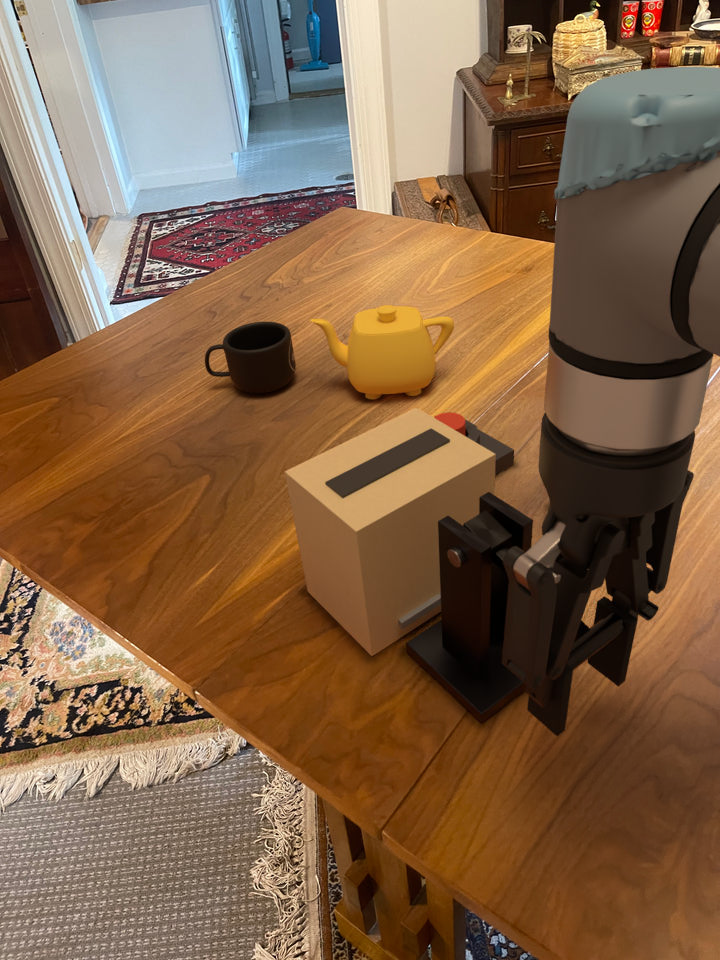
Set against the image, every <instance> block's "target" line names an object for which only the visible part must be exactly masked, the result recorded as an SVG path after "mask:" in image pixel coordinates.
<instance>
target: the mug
mask: <svg viewBox="0 0 720 960" xmlns="http://www.w3.org/2000/svg"><path fill="white" fill-rule="evenodd" d="M217 350H223V352H224V356H225V360H226V364H227V368H228V371H214V370H213V369H212V368H211V364H210V356H211V353H212V352H214V351H217ZM204 366H205V370H206V372H207V373H208V374H209V375H210V376H212V377H217V378H226V377H229V378H230V380H231V382H232V383H233V384H234V386H236V387H237V389H239V390H241V391H243V392H246V393H249V394H267V393H271V392H275V391H277V390H279V389H282V388H284V387H286V386H287V385H288V384H290V382H291V381H292V380H293V378H294V376H295V373H296V366H297V364H296V358H295V352H294V345H293V340H292V334H291V330H290V329H289V327H287V326H286V325H285V324H282V323H280V322H275V321H255V322H249V323H246V324H242V325H240V326H237V327H236V328H233V329H232V330H230V331H229V332H227V333H226V335H225V336H224V337H223V340H222V343H221V344H220V343H217V344H214V345H211V346H210V347H209V348H207V350H206V352H205V354H204Z"/></svg>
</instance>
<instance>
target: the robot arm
mask: <svg viewBox="0 0 720 960" xmlns="http://www.w3.org/2000/svg"><path fill="white" fill-rule="evenodd" d="M563 139H564V140H563V147H562V154H561V160H560V167H559V174H558V181H557V187H555V189H554V191H553V192H554V194H553V195H554V200H556V207H555V208H556V209H555V231H554V246H553V247H554V248H553V261H552V262H553V264H552V265H553V266H552V278H551V295H550V296H551V297H550V313H549V325H548V334H547V335H548V341H549V342H548V351H547V352H548V354H547V365H546V374H545V375H546V376H545V388H544V400H543V401H544V402H543V410H544V413H543V415H542V418H541V422H540V423H541V424H540V439H539V453H538V473H539V478H540V480H541V482H542V484H543V486H544V489H545V491H546V493H547V496H548V499H549V506H548V509H547V512H546V514H545V517H544V519H543V521H542V525H541V534H542V536H541V538H539V539H538V540H537V541H536V542H535V543H534V544H533V545H531V548H530V549H529V550H528V551H527V552H524V551H523V550H521V549H520V548H519V547H517V546H514V547H512V548H510V549H509V550H508V551H507V552H506V554H505V556H504V559H503V564H504V567H505V570H506V572H507V575H508V578H509V585H508V596H507V607H506V618H505V630H504V641H503V652H502V664H503V665H504V666H506V667H507V668H508V669H509V670H510V671H511V672H512V673H514V674H515V675H516V676H517V677H518V678H519V679H521V680H522V681H523V682H524V683H525V684H526V689H525V691H524V692H525V693H526V694H527V696H528V697H527V709H526V710H527V711H528V712H529V713H530V715H532V716H533V717H534V718H535V719H536V720H538V721H539V722H540V723H541V724H542V725H543V726H544V727H545V728H546V729H548V730H549V731H550V732H551V733H552V734H554V736H555V737H556V738H557V737H559V736H561V734H563V733H564V732H565V731H566V726H567V719H568V713H569V706H570V705H569V704H570V697H571V696H570V695H571V688H572V684H573V683H572V682H573V677H574V676H573V675H574V670H573V669H572V668H571V667H570V666H569V665H567V664H566V662H567V659H568V657H569V654H570V651H571V648H572V645H573V642H574V640H575V637H576V634H577V631H578V628H579V625H580V623H581V620H582V619H583V616H584V613H585V611H586V608H587V605H588V602H589V600H590V596H591V594H592V591H596V590H598V589H600V588H602V587H603V585H604V582H605V589H606V594H607V595H609V596H610V597H611V599H609V598H608V597H606V596H602V597H601V598H599V600H597V601H596V606H595V614H594V620H593V625H594V624H596V623H597V622H598V621H600V620H601V619H602V618H604V617H605V616H606V615H608V614H609V613H615V614H617V615H619V616H620V617H621V618H622V619H623V621H624V623H625V630H624V631H623V632H622V633H621V634H620V635H618V636H617V637H616V638H614V639H613V640H612V641H611V642H609V643H608V644H607V645H605V646H604V647H603V648H602V649H600V650H599V651H598V652H596V653H595V654H594V655H593V656H591V657H590V658H589V659H587V664H588V665H589V666H591V667H592V668H593V669H594V670H596V671H597V672H599V673H600V674H601V675H602V676H603V677H605V678H606V679H608V680H609V681H610V682H611V683H613V685H616V686H617V687H620V686H621V685H622V684H623V683H625V682H626V678H627V675H628V670H629V664H630V659H631V654H632V650H633V645H634V640H635V635H636V631H637V625H638V621H639V617H641V618H643V619H644V620H646V621H648V622H649V621H651V620H653V618H654V617H655V616H656V614H657V613H658V611H659V606H658V605H657V604H655V603H654V602H652V601H650V599H649V597H650V596H649V595H650V593H654V594H656V595H658V594H660V593H661V592H663V591H664V590H665V589H666V586H667V583H668V579H669V574H670V570H671V565H672V561H673V560H672V559H673V556H674V555H673V554H674V550H675V545H676V540H677V535H678V531H679V524H680V521H681V515H682V509H683V505H684V502H685V499H686V497H687V495H688V492H689V489H690V487H691V485H692V483H693V480H694V477H695V476H694V475H695V474H694V472H693V471H690V470H689V466H690V462H691V458H692V453H693V449H694V444H695V440H696V431H695V430H696V429H697V427H698V426H699V424H700V422H701V421H700V420H701V416H702V412H703V407H704V401H705V398H706V393H707V388H708V382H709V379H710V378H709V377H710V373H711V369H712V363H713V359H714V355H715V356H717V357H720V67H717V66H716V67H714V66H713V67H711V66H676V67H674V66H673V67H659V68H657V67H656V68H646V69H639V70H631V71H627V72H623V73H622V72H621V73H618V74H613V75H609V76H607V77H603V78H600V79H598V80H596V81H594V82H592V83H591V84H589V85H587V86H586V87H585V88H583V89H582V90H581V91H580V92H579V93H578V94H577V95H576V97H575V98H574V100H573V102H572V103H571V105H570V107H569V110H568V114H567V118H566V126H565V132H564V138H563ZM647 565H649V566H650V567H651V568H650V567H648V566H647ZM582 621H583V620H582Z"/></svg>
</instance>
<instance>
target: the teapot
mask: <svg viewBox="0 0 720 960" xmlns="http://www.w3.org/2000/svg"><path fill="white" fill-rule="evenodd" d="M309 321H310V322H311V323H313V324H315V325H316V326H318V327H319V328H320V329H321V330H322V331H323V333H324V335H325V337H326V342H327V344H328V348H329V351H330V354H331V356H332V358H333V359H334V361H335V362H336V363H338V364H339V365H340V366H342V367H345V368H346V373H347V377H348V380H349V382H350V383H351V385H352V386H353V387H354V389H355V390H356V391H357V392H358V393H362V394H365V395H364V397H365V398H366V399H368V400H377V399H379V398H381V397H382V395H390V394H392V395H394V394H402V393H405V394H406V396H409V397H410V396H411V397H415V396H418V395H421V394H422V389H424V388H426V387H428V386H429V385H430V383H431V381H432V379H434V376H435V373H436V367H437V365H436V356H437V354H438V353H439V351H440V350H441V349H442V348H443V347H444V345H445V344H446V342H448V340H449V338H450V337H451V335H452V333H453V331H454V329H455V321H454V319H453V318H452V317H450V316H443V315H442V316H435V317H430V318H425V319H424V318H423V316H422V314H421V312H420V310H419V309H418V308H417V307H415V306H407V305H401V306H400V305H399V306H397V305H396V306H395V305H392V304H384V305H381V306H379V307H376V308H370V309H365V310H361V311H359V312H357V313H356V314H355V316H354V319H353V322H352V325H351V329H350V332H349V335H348V340H347V344H345V343H342V342H341V341H340V340H339V338H338V335H337V332H336V328H335V327H334V326H333V323H332V322H330V321H328V320H327V319H322V318H311V319H309ZM434 326H435V327H436V326H438V327H439V326H440V327H441V330H440V333H439V335H438V338H437V339H436V341H435V343H433V340H432V336H431V334H430V331H429V327H434Z"/></svg>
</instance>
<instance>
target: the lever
mask: <svg viewBox="0 0 720 960" xmlns="http://www.w3.org/2000/svg"><path fill="white" fill-rule="evenodd" d="M463 526H464V527H465V528H467V529H468V530H470V531H471V532H472V533H474V534H475V535H477V536H478V537H479V538H481V539H482V540H484V541H485V542H486V543H488V544H489V545H491V546H492V550H491V564H493V563H495V564H496V565H497V566H498V567H499V568H500V569H501V570H502V571H503V572H504V573H505V574H506V575H507V572H506V570H505V567H504V564H503V559H504V556H505V554H506V552H507V551H508V550H509V549H508V547H509V544H510V542H511V539H512V535H511V534H510V533H509V532H508V531H507V530H506V529H505V528H504V527H503V526H502V525H501V524H500V523H499V522H498V521H497V520H496V519H495V518H494V517H493V516H492V515H490V514H489V513H488V512H487V511H486V510H485V511H484V512H482V513H480V514H479V515H477V516H475V517H474V518H472V519H470V520H469V521H467V522H465V523H464V524H463ZM507 576H508V575H507ZM624 630H625V623H624V621H623V619H622V618H621V617H620V616H619V615H617V614H615V613H609V614H608V615H606V616H605V617H604V618H602V619H601V620H600V621H598V622H597V623H596V624H594V623H593V624H592V626H590V627H589V625H587V624H586V623H585V622H584V621H583V620H581V623H580V625H579V628H578V631H577V634H576V637H575V640H574V642H573V645H572V648H571V651H570V654H569V657H568V659H567V662H566V664H567V665H569V666H570V667H571V668H572V669H573V671H575V670H576V669H577V668H579V667H580V666H581V665H583V664H584V663H585V662H587V661H588V659H589V658H590V657H591V656H593V655H594V654H595V653H596V652H598V651H599V650H600V649H602V648H603V647H604V646H605V645H607V644H608V643H609V642H611V641H612V640H613V639H614V638H616V637H617V636H618V635H620V634H621V633H622V632H623V631H624Z"/></svg>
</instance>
